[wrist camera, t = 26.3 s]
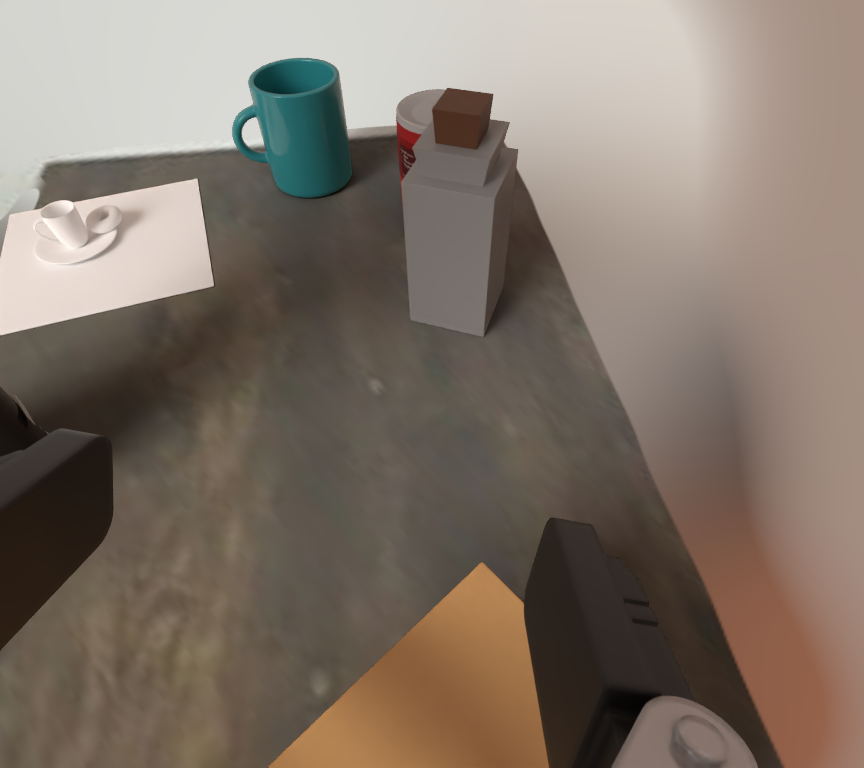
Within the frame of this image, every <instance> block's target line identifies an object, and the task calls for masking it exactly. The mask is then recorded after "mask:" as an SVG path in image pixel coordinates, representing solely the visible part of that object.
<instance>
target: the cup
mask: <svg viewBox="0 0 864 768" xmlns="http://www.w3.org/2000/svg"><path fill="white" fill-rule="evenodd" d="M248 83H249V88H250V92H251V96H252V100H253V105H251V106H249V107H247V108H245V109H244V110H242V111H241V112H240V113H239V114H238V115H237V116H236V118H235V120H234V122H233V127H232V135H233V140H234V142H235V145H236V146H237V148H238V149H239V151H240V152H241V153H242V154H243V155H245V156H246V157H247V158H249V159H251V160H253V161H256V162H262V163H269V165H270V168H271V172H272V175H273V179H274V182H275V184H276V185H277V187H278V188H279V189H280V190H282V191H283V192H285V193H287V194H289V195H292V196H295V197H301V198H315V197H321V196H326V195H329V194H332V193H334V192H336V191H338V190H340V189H341V188H343V187H344V186H345V185H346V184H347V183H348V182H349V180H350V178H351V176H352V162H351V155H350V147H349V140H348V133H347V126H346V119H345V112H344V105H343V97H342V90H341V83H340V76H339V71H338V70H337V68H336V67H335V66H334V65H332V64H330V63H328V62H326V61H323V60H318V59H312V58H292V59H285V60H280V61H276V62H272V63H269V64H267V65H264V66H262V67H260V68H259V69H257V70H256V71H254V72H253V73H252V74H251V76H250V78H249V81H248ZM253 117H257V119H258V122H259V126H260V130H261V133H262V137H263V141H264V145H265V149H266V152H259V151H255V150H253V149H251V148H250V147H248V146H247V145H246V143H245V142H244V140H243V138H242V128H243V126H244V124H245V123H246V122H247V120H249V119H251V118H253Z"/></svg>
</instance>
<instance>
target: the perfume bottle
mask: <svg viewBox="0 0 864 768" xmlns="http://www.w3.org/2000/svg"><path fill="white" fill-rule="evenodd" d="M492 100H493V94H489V93H481V92H473V91H466V90H459V89H451V88H447V89H446V91H445V92H444V93H443V95H442V96H441V97H440V99H439V100H438V102H437V103H436V104H435V106H434V107H433V108H432V114H433V119H432V121H431V122H430V124H429V125H428V126H427V128H426V129H425V131H424V132H423V133H422V135H421V136H420V138H419V139H418V140H417V142H416V143H415V145H414V146H413V147H412V149H413V152H414V155H415V158H416V161H415V163H414V164H413V165H412V167H411V168H410V170H409V171H408V173H407V174H406V176H405V177H404V179H403V180H402V182H401V186H402V201H403V216H404V232H405V247H406V262H407V277H408V293H409V308H410V320H412V321H416V322H420V323H425V324H429V325H433V326H438V327H442V328H446V329H450V330H455V331H459V332H463V333H468V334H472V335H476V336H480V337H484V335H485V332H486V330H487V327H488V325H489V322H490V319H491V317H492V314H493V312H494V309H495V307H496V304H497V302H498V299H499V297H500V294H501V292H502V289H503V284H504V275H505V265H506V256H507V247H508V238H509V228H510V219H511V210H512V201H513V192H514V182H515V173H516V163H517V154H518V149H512V148H506V147H502V145H503V142H504V139H505V136H506V133H507V130H508V126H509V123H510V122H504V121H497V120H490V114H491V107H492Z"/></svg>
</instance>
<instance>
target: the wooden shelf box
mask: <svg viewBox="0 0 864 768" xmlns="http://www.w3.org/2000/svg"><path fill="white" fill-rule="evenodd" d="M267 768H549V764H548V758H547V752H546V746H545V740H544V734H543V728H542V722H541V716H540V710H539V704H538V698H537V692H536V686H535V680H534V674H533V668H532V662H531V656H530V650H529V644H528V638H527V632H526V626H525V620H524V603H523V602H522V601H521V600H520V599H519V598H518V597H517V596H516V595H515V594H514V593H513V592H512V591H511V590H510V589H509V588H508V587H507V586H506V585H505V584H504V583H503V582H502V581H501V580H500V579H499V578H498V577H497V576H496V575H495V574H494V573H493V572H492V571H491V570H490V569H489V568H488V567H487V566H486V565H485V564H484V563H483V562H481V563H480V564H479V565H478V566H477V567H476V568H475V569H474V570H473V571H472V572H470V573H469V574H468V575H467V576H466V577H465V578H464V579H463V580H462V581H461V582H460V583H459V584H458V585H457V586H456V587H455V588H454V589H453V590H452V591H451V592H450V593H449V594H448V595H446V596H445V597H444V598H443V599H442V600H441V601H440V602H439V603H438V604H437V605H436V606H435V607H434V608H433V609H432V610H431V611H430V612H429V613H428V614H427V615H426V616H425V617H424V618H423V619H421V620H420V621H419V622H418V623H417V624H416V625H415V626H414V627H413V628H412V629H411V630H410V631H409V632H408V633H407V634H406V635H405V636H404V637H403V638H402V639H401V640H400V641H399V642H397V643H396V644H395V645H394V646H393V647H392V648H391V649H390V650H389V651H388V652H387V653H386V654H385V655H384V656H383V657H382V658H381V659H380V660H379V661H378V662H377V663H376V664H375V665H373V666H372V667H371V668H370V669H369V670H368V671H367V672H366V673H365V674H364V675H363V676H362V677H361V678H360V679H359V680H358V681H357V682H356V683H355V684H354V685H353V686H352V687H351V688H350V689H348V690H347V691H346V692H345V693H344V694H343V695H342V696H341V697H340V698H339V699H338V700H337V701H336V702H335V703H334V704H333V705H332V706H331V707H330V708H329V709H328V710H327V711H326V712H324V713H323V714H322V715H321V716H320V717H319V718H318V719H317V720H316V721H315V722H314V723H313V724H312V725H311V726H310V727H309V728H308V729H307V730H306V731H305V732H304V733H303V734H302V735H300V736H299V737H298V738H297V739H296V740H295V741H294V742H293V743H292V744H291V745H290V746H289V747H288V748H287V749H286V750H285V751H284V752H283V753H282V754H281V755H280V756H279V757H278V758H277V759H275V760H274V761H273V762H272V763H271V764H270V765H269V766H268V767H267Z"/></svg>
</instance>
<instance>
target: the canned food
mask: <svg viewBox="0 0 864 768" xmlns="http://www.w3.org/2000/svg"><path fill="white" fill-rule="evenodd" d="M445 91H446V90H441V89H437V90H426V91H421V92H417V93H414V94H411V95H409V96H407V97H406V98H404V99H403V100H402V101H401V102H400V103H399V104H398V106H397V114H396V119H397V120H396V121H397V138H398V152H399V166H400V180H401V182H402V180H403V179H404V177H405V176H406V174H407V173H408V171H409V170H410V168H411V167H412V165H413V164H414V163H415V161H416V158H415V155H414V152H413V149H412V147H413V146H414V145H415V143H416V142H417V140H418V139H419V138H420V136H421V135H422V133H423V132H424V131H425V129H426V128H427V126H428V125H429V124H430V122H431V121H432V119H433V114H432V108H433V107H434V106H435V104H436V103H437V102H438V100H439V99H440V97H441V96H442V95H443V93H444V92H445ZM401 194H402V186H401ZM402 207H403V201H402Z"/></svg>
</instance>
